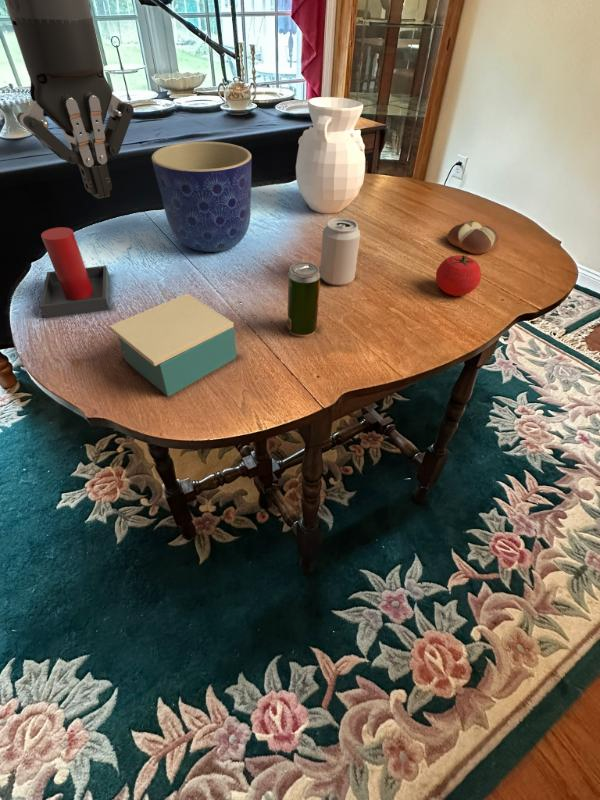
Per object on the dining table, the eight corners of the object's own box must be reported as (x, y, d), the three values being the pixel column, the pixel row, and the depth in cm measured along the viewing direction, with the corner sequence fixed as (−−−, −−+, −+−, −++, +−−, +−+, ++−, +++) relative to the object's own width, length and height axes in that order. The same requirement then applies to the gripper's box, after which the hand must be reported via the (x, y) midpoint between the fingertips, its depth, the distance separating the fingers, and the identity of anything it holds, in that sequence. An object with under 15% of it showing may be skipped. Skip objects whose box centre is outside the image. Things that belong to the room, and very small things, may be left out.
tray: (45, 318, 79) (39, 306, 77) (51, 283, 88) (47, 271, 86) (109, 310, 82) (105, 298, 80) (109, 277, 91) (106, 265, 89)
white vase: (346, 225, 113) (358, 113, 96) (283, 212, 119) (284, 103, 101) (369, 202, 126) (383, 99, 108) (311, 191, 131) (316, 91, 113)
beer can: (295, 341, 76) (296, 279, 68) (282, 325, 80) (282, 264, 72) (321, 334, 78) (326, 273, 70) (308, 318, 82) (311, 259, 73)
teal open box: (167, 397, 65) (159, 365, 61) (125, 361, 71) (115, 329, 67) (236, 358, 73) (233, 326, 68) (193, 328, 78) (188, 297, 74)
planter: (174, 267, 94) (156, 173, 81) (163, 229, 108) (147, 144, 95) (265, 256, 99) (262, 166, 86) (244, 221, 113) (239, 138, 100)
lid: (154, 366, 60) (153, 362, 60) (110, 330, 66) (108, 325, 66) (233, 326, 68) (233, 322, 68) (188, 297, 74) (187, 293, 73)
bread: (474, 258, 102) (481, 238, 98) (439, 240, 109) (444, 220, 105) (504, 248, 106) (512, 228, 103) (469, 231, 113) (475, 212, 110)
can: (358, 274, 95) (365, 219, 86) (349, 290, 90) (356, 233, 81) (325, 268, 96) (329, 213, 88) (315, 283, 91) (318, 227, 83)
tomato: (439, 303, 87) (450, 266, 82) (426, 281, 93) (436, 245, 88) (481, 302, 88) (494, 265, 82) (466, 280, 94) (477, 245, 89)
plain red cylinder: (98, 293, 85) (78, 233, 76) (73, 303, 82) (49, 242, 74) (84, 284, 87) (64, 224, 79) (60, 293, 84) (35, 233, 76)
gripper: (95, 9, 48) (132, 177, 60) (-37, 9, 41) (35, 200, 53) (131, 14, 44) (162, 192, 56) (-7, 15, 37) (63, 218, 49)
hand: (100, 195), depth 55 cm, fingers closed
